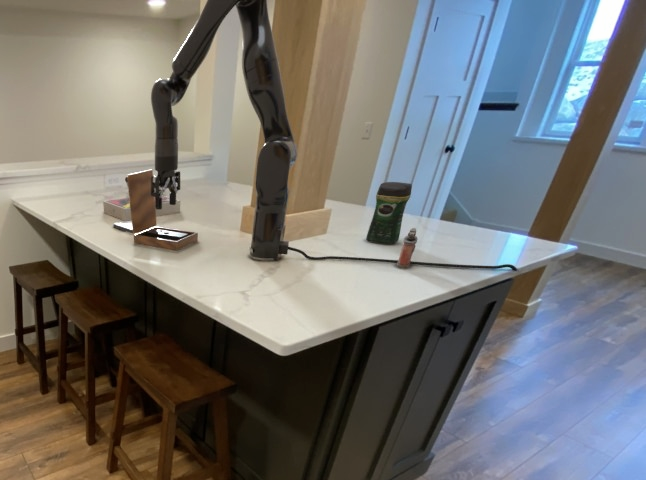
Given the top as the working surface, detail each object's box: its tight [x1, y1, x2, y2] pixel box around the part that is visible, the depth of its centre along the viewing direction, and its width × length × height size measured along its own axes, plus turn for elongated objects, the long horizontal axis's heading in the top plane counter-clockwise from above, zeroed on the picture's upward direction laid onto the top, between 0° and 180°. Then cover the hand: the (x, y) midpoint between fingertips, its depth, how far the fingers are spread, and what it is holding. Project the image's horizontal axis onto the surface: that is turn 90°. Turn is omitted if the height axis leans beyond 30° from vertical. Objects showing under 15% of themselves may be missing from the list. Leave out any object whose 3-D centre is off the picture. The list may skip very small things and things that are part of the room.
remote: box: [145, 228, 188, 241], centre depth 158 cm, size 15×5×4 cm, turn 52°
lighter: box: [396, 227, 419, 270], centre depth 128 cm, size 8×3×10 cm, turn 148°
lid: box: [124, 169, 158, 235], centre depth 158 cm, size 19×14×5 cm
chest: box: [133, 226, 199, 252], centre depth 158 cm, size 18×14×4 cm
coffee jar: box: [365, 181, 413, 245], centre depth 146 cm, size 10×8×19 cm
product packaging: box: [102, 195, 181, 222], centre depth 203 cm, size 22×28×5 cm
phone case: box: [113, 220, 151, 234], centre depth 178 cm, size 9×2×16 cm
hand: (165, 206), depth 152 cm, fingers open, 8 cm apart
